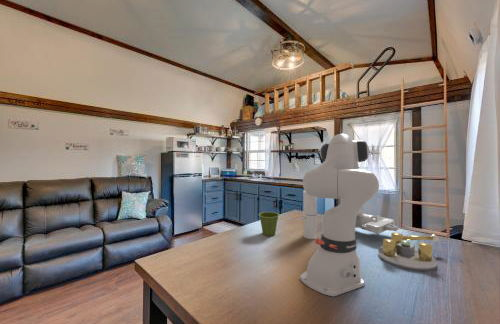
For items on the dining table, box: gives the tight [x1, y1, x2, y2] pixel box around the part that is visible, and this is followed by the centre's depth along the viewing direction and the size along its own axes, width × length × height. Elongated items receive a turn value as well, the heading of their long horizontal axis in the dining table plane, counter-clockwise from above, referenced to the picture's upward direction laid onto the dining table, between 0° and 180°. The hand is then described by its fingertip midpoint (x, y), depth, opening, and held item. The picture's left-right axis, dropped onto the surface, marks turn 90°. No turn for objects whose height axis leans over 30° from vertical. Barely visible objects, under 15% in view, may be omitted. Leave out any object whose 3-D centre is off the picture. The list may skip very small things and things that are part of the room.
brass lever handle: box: [390, 231, 439, 248], centre depth 101 cm, size 20×4×6 cm, turn 88°
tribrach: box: [377, 238, 437, 272], centre depth 95 cm, size 20×20×8 cm
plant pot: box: [258, 211, 280, 237], centre depth 127 cm, size 12×12×11 cm
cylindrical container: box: [302, 190, 318, 240], centre depth 122 cm, size 7×7×25 cm
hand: (397, 229), depth 114 cm, fingers closed
